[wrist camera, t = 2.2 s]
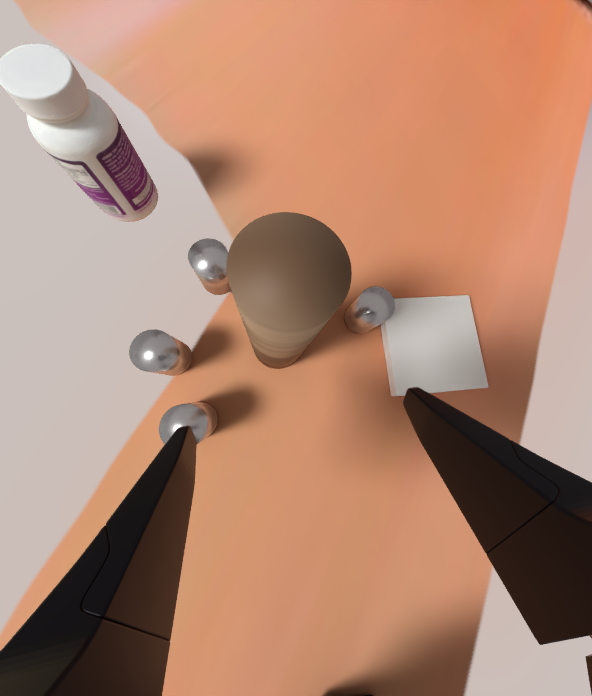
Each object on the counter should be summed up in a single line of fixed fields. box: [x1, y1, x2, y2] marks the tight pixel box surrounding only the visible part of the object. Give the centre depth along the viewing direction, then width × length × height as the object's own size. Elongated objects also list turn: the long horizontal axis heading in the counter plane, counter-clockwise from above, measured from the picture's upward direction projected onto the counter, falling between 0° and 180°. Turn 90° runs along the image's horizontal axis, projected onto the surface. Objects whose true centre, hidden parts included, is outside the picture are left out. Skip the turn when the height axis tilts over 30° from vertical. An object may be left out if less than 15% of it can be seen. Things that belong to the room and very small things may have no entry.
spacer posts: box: [129, 239, 395, 444], centre depth 20 cm, size 16×20×4 cm
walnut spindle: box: [226, 212, 352, 369], centre depth 15 cm, size 4×4×14 cm
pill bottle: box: [0, 44, 158, 221], centre depth 19 cm, size 5×5×10 cm
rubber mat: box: [380, 295, 489, 396], centre depth 23 cm, size 9×9×1 cm
